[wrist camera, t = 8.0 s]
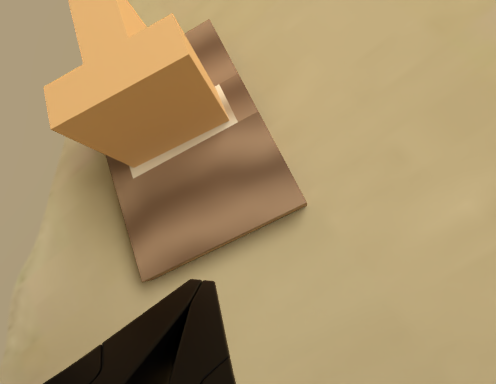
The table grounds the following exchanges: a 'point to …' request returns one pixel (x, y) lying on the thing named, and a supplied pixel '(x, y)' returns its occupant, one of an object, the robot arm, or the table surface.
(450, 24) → the table surface
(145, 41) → the t block
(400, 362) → the table surface
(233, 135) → the board
